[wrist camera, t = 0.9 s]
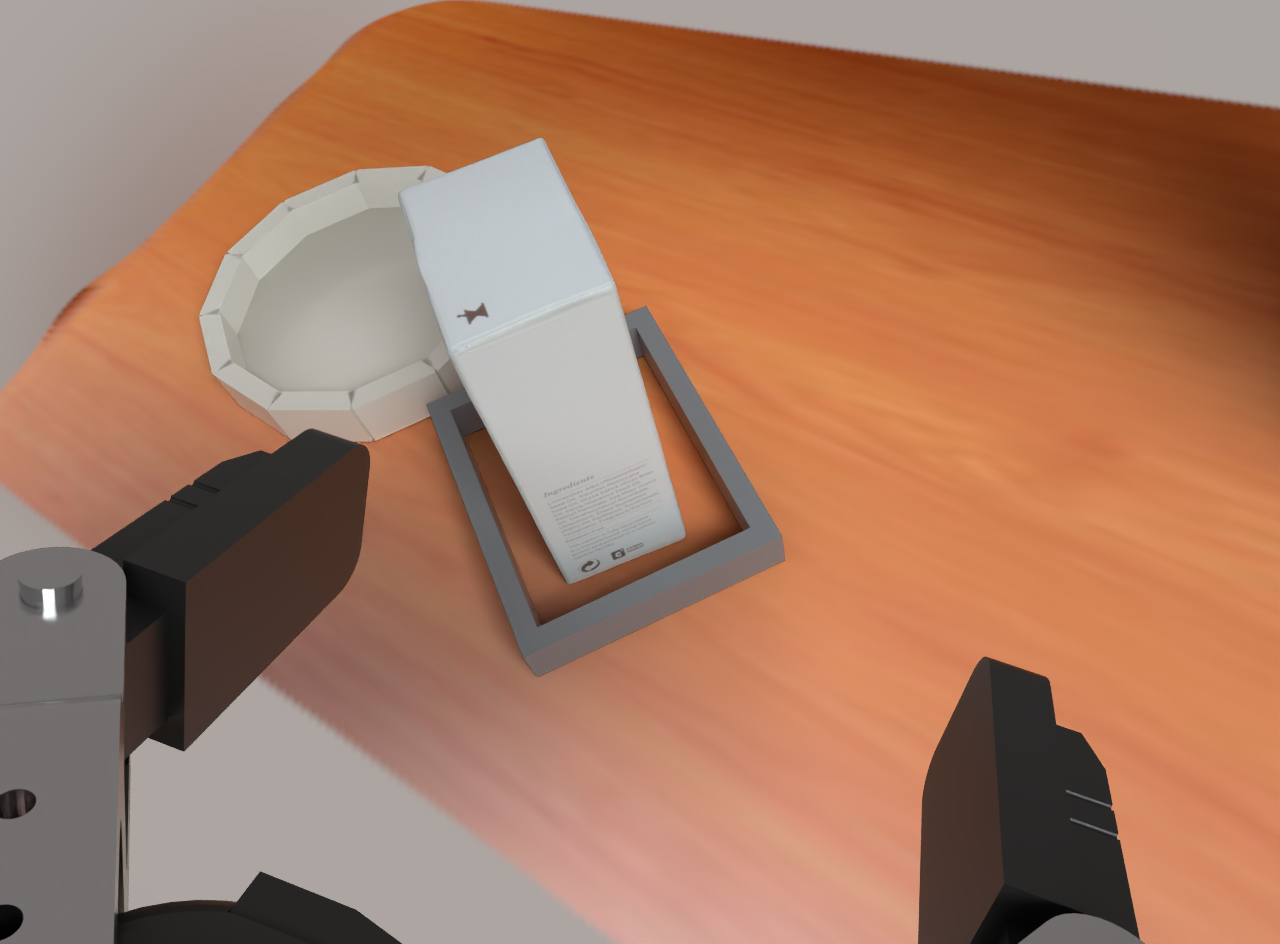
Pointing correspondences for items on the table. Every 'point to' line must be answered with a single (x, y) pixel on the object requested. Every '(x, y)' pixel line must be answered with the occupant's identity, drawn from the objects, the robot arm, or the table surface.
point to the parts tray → (644, 596)
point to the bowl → (330, 313)
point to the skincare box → (545, 355)
